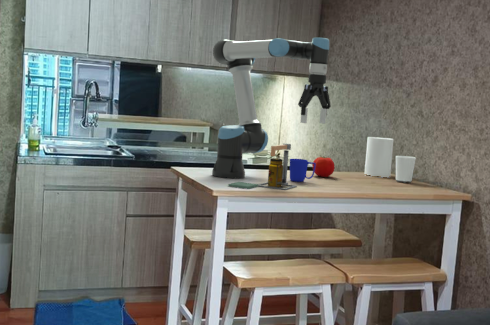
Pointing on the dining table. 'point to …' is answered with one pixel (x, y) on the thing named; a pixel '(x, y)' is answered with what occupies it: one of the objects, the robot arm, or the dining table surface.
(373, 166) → the canister
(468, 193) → the dining table surface
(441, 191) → the dining table surface
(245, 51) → the robot arm
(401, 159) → the cup
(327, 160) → the tomato
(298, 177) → the mug
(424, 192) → the dining table surface
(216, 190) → the dining table surface
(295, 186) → the frame
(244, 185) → the mat
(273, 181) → the condiment
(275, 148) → the tan bent bar
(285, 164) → the post
